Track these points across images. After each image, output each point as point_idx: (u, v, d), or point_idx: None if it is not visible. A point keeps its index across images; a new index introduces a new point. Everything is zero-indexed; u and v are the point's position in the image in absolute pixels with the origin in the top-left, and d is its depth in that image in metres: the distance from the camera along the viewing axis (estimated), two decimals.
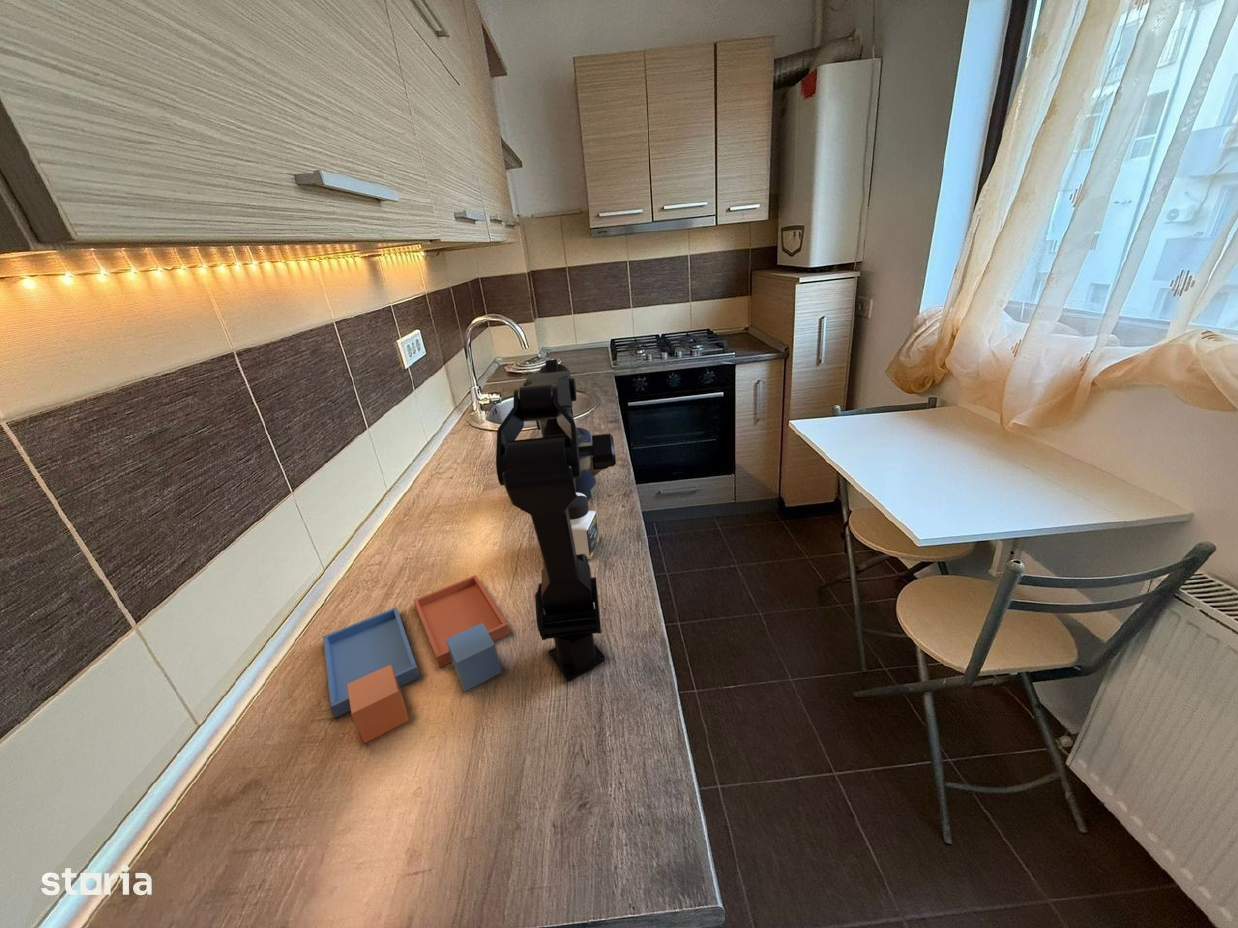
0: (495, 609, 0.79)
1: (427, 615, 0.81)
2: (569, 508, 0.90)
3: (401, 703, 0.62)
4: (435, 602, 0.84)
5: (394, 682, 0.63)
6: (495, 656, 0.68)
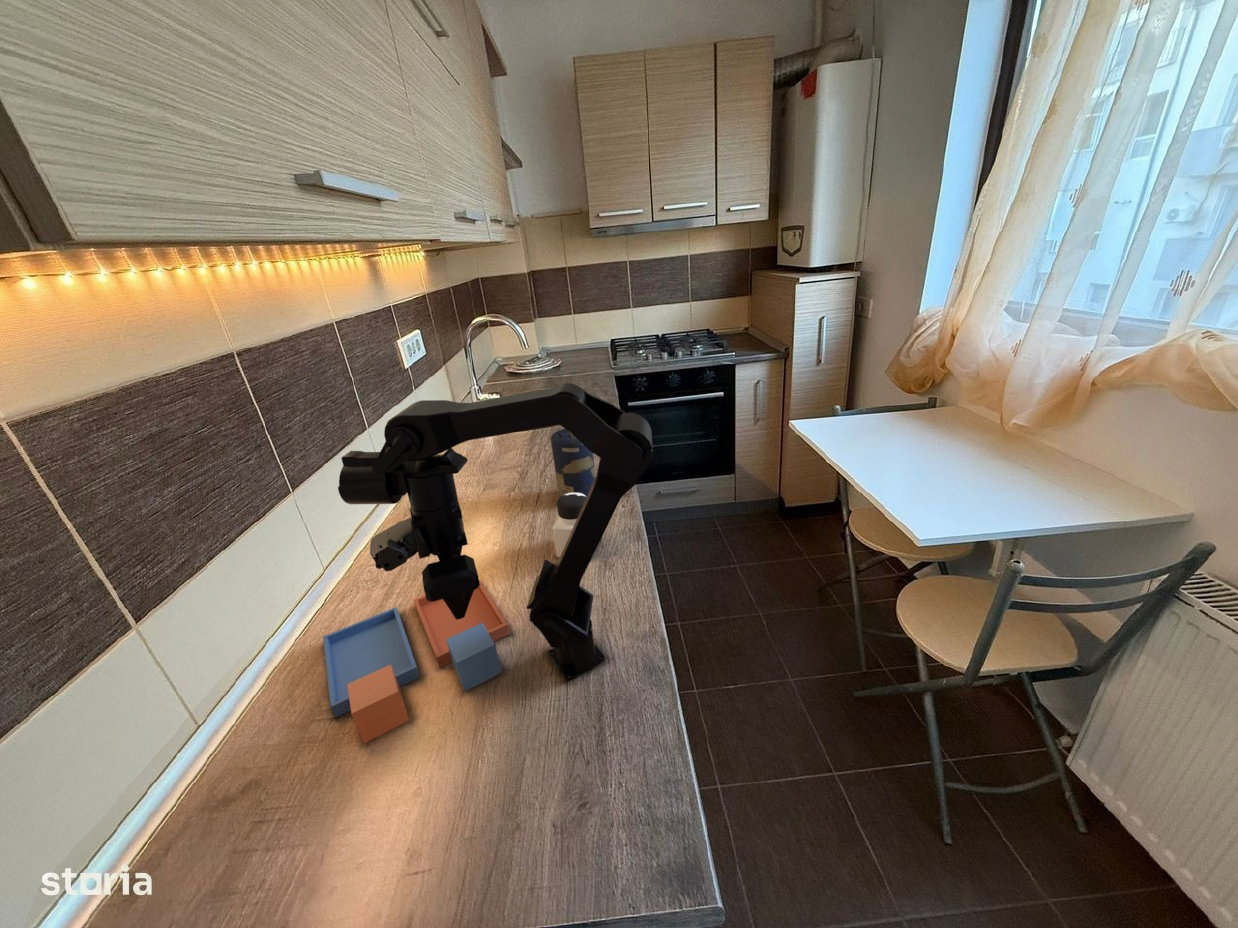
0: (495, 609, 0.79)
1: (427, 615, 0.81)
2: (569, 508, 0.90)
3: (401, 703, 0.62)
4: (435, 602, 0.84)
5: (394, 682, 0.63)
6: (495, 656, 0.68)
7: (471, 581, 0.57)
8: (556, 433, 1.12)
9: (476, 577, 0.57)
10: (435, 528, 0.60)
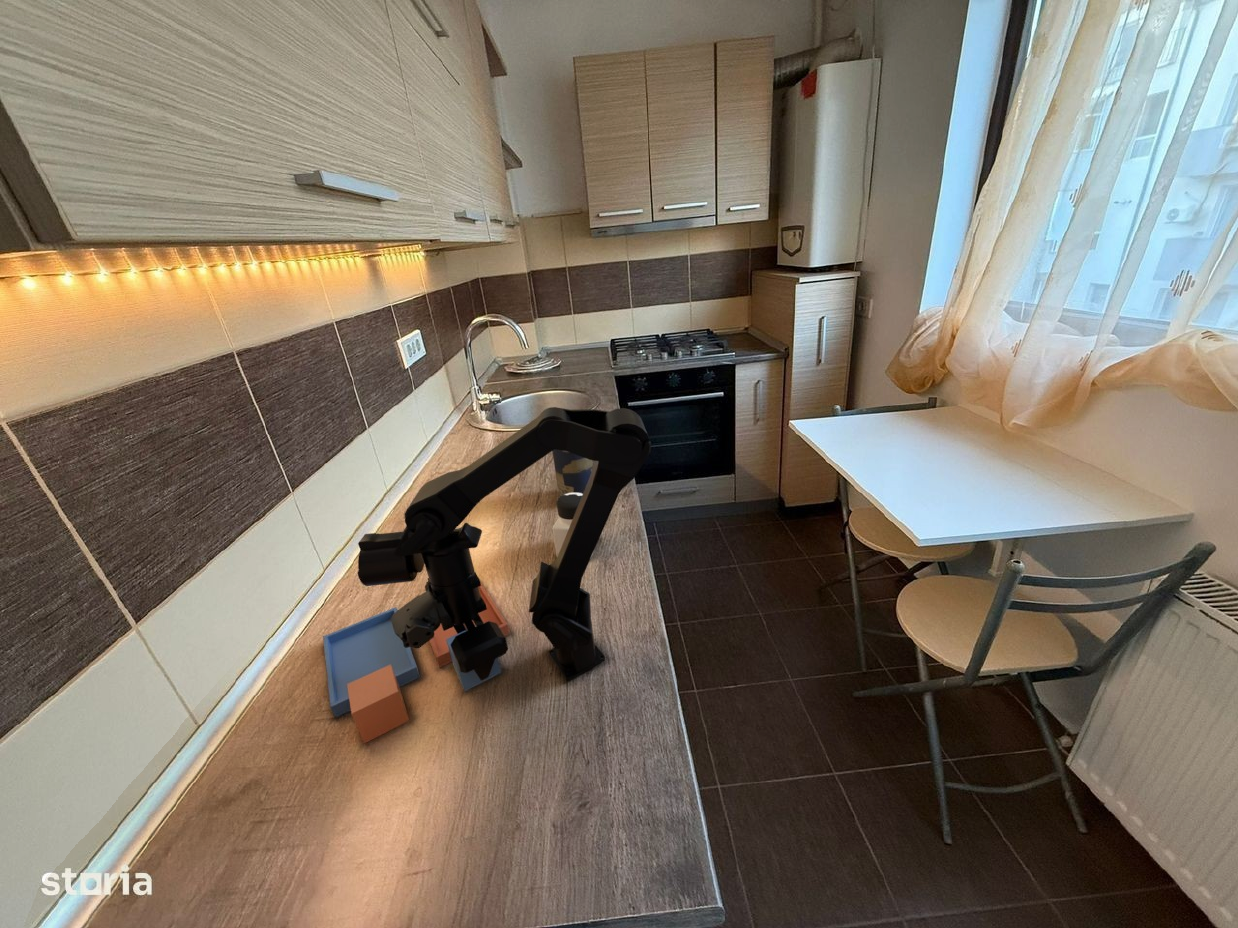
0: (495, 609, 0.79)
1: None
2: (569, 508, 0.90)
3: (401, 703, 0.62)
4: None
5: (394, 682, 0.63)
6: None
7: (501, 647, 0.60)
8: None
9: (505, 642, 0.61)
10: (457, 600, 0.62)
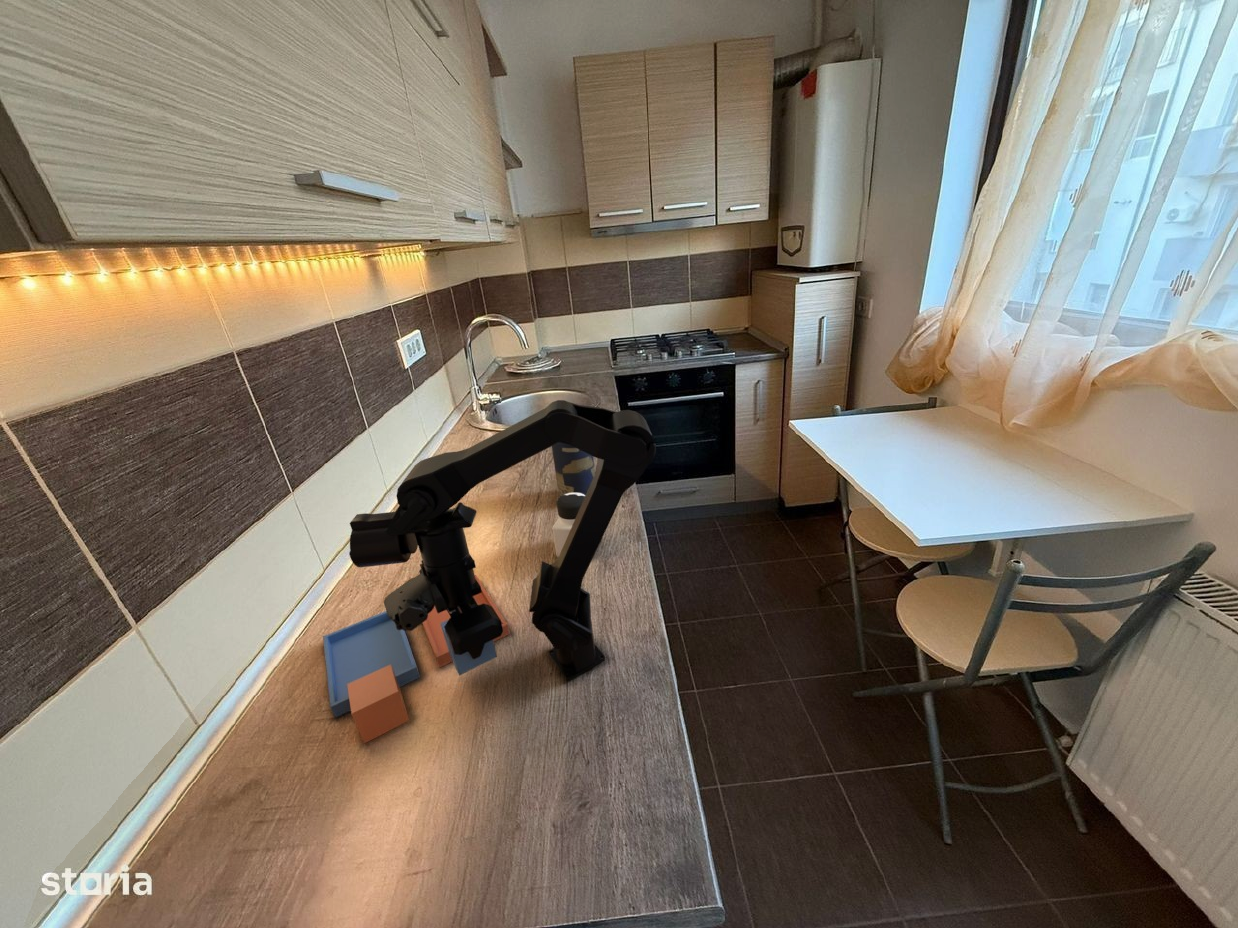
0: (495, 609, 0.79)
1: None
2: (569, 508, 0.90)
3: (401, 703, 0.62)
4: None
5: (394, 682, 0.63)
6: None
7: (496, 629, 0.59)
8: None
9: (500, 624, 0.59)
10: (451, 582, 0.61)
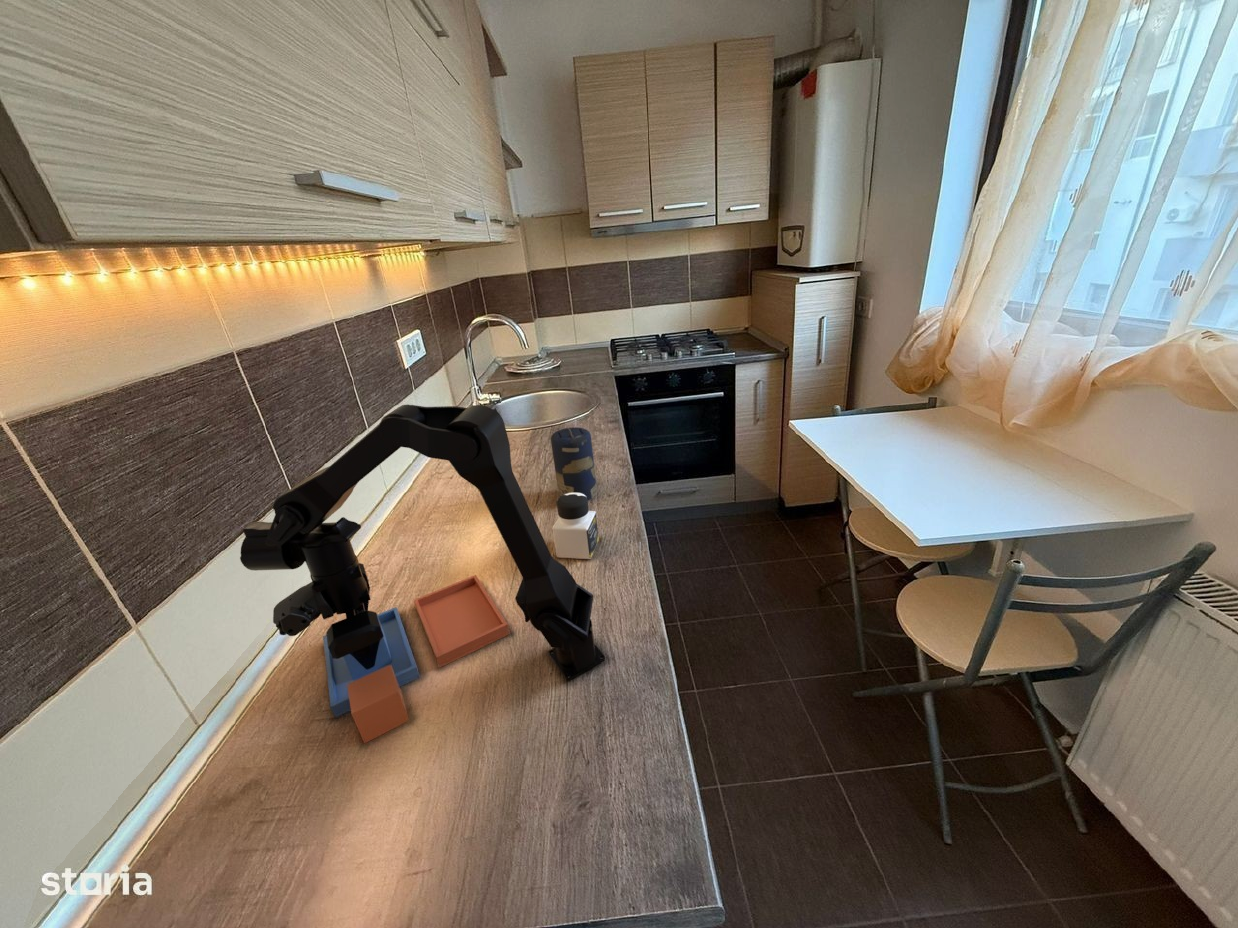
0: (495, 609, 0.79)
1: (427, 615, 0.81)
2: (569, 508, 0.90)
3: (401, 703, 0.62)
4: (435, 602, 0.84)
5: (394, 682, 0.63)
6: (384, 645, 0.71)
7: (374, 634, 0.63)
8: (556, 433, 1.12)
9: (379, 630, 0.63)
10: (336, 590, 0.65)
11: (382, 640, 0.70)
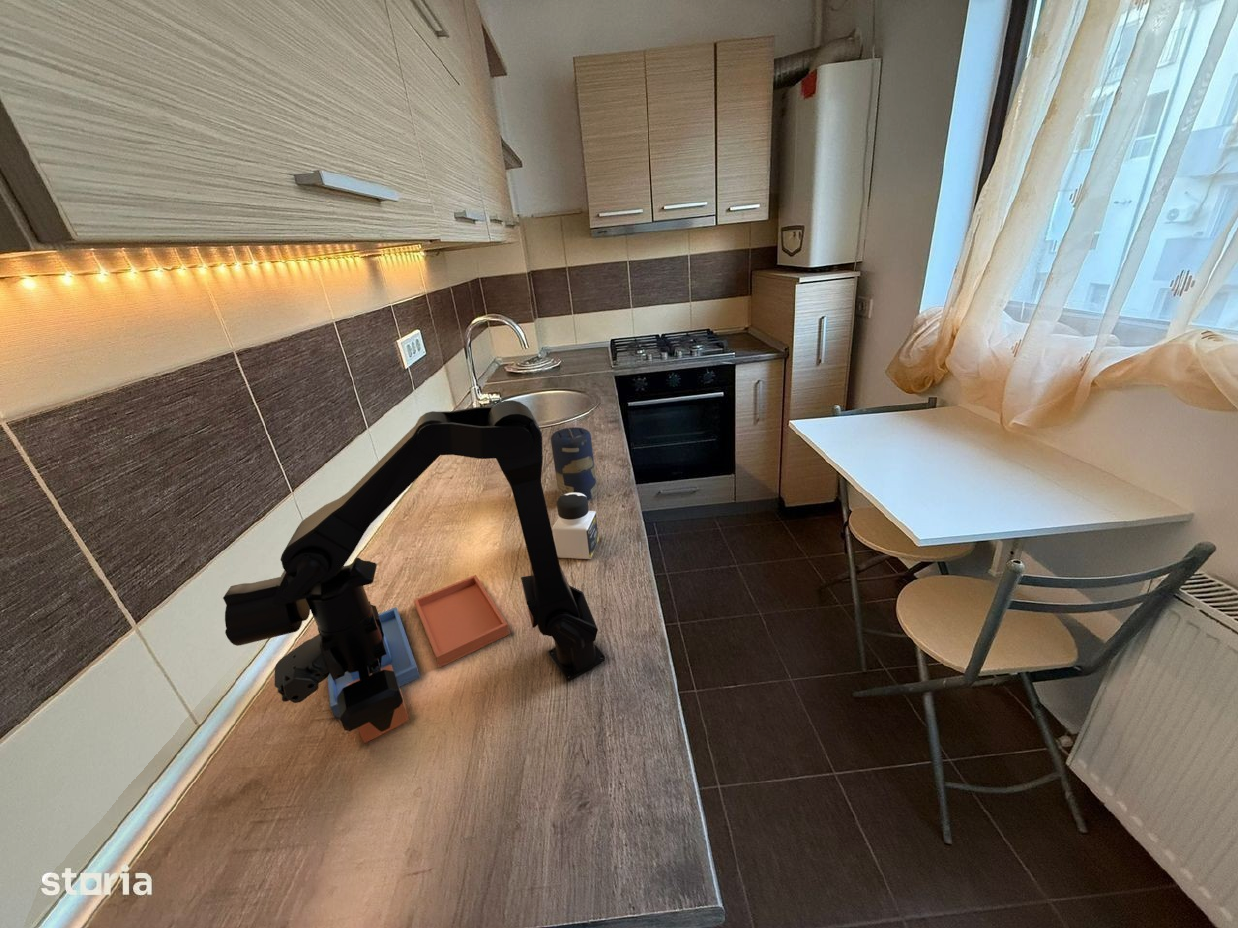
0: (495, 609, 0.79)
1: (427, 615, 0.81)
2: (569, 508, 0.90)
3: None
4: (435, 602, 0.84)
5: None
6: (384, 645, 0.71)
7: (392, 700, 0.54)
8: (556, 433, 1.12)
9: (398, 695, 0.55)
10: (348, 646, 0.56)
11: None
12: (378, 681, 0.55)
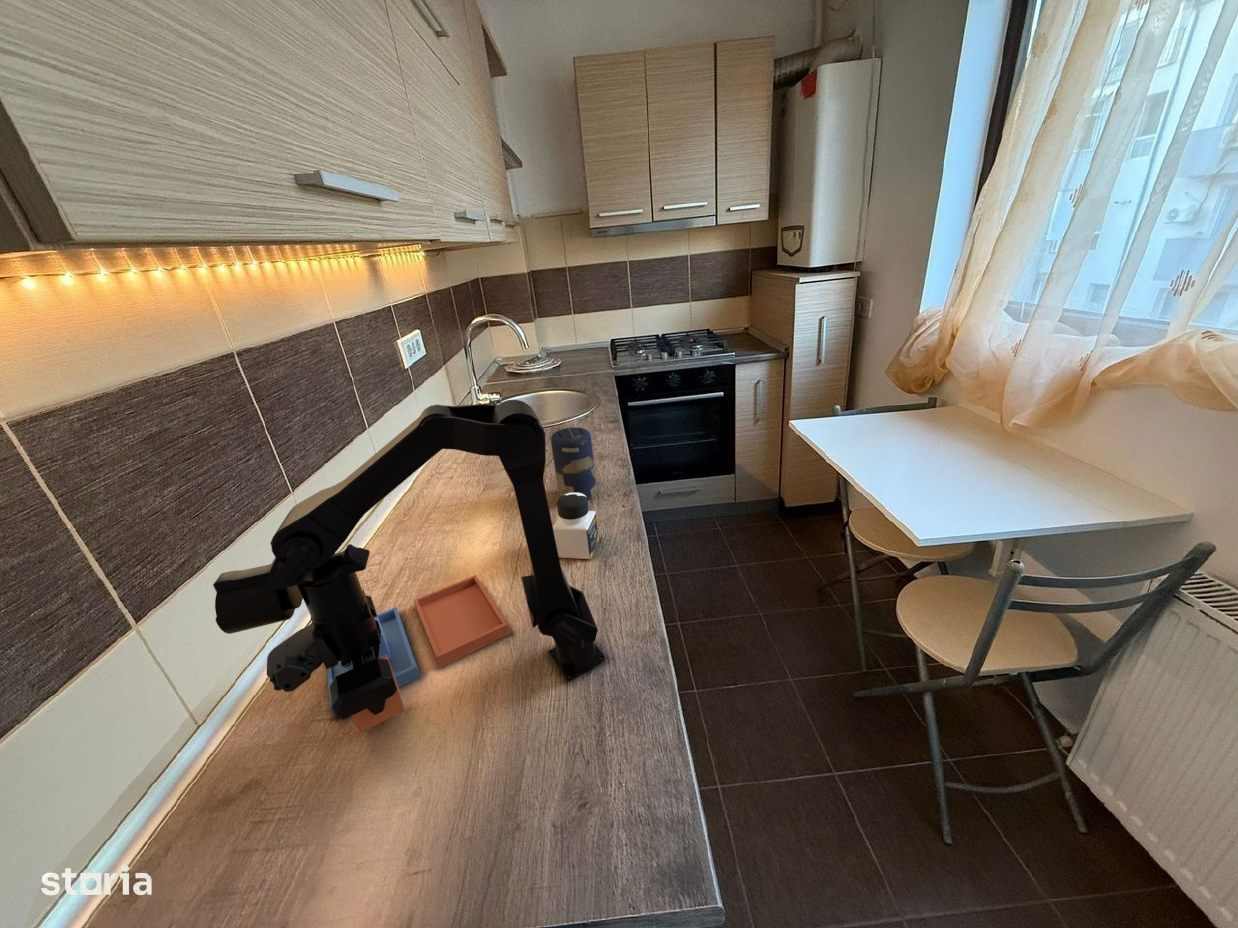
0: (495, 609, 0.79)
1: (427, 615, 0.81)
2: (569, 508, 0.90)
3: (396, 691, 0.61)
4: (435, 602, 0.84)
5: None
6: (384, 645, 0.71)
7: (386, 688, 0.53)
8: (556, 433, 1.12)
9: (392, 683, 0.54)
10: (341, 635, 0.55)
11: (382, 640, 0.70)
12: (371, 669, 0.54)
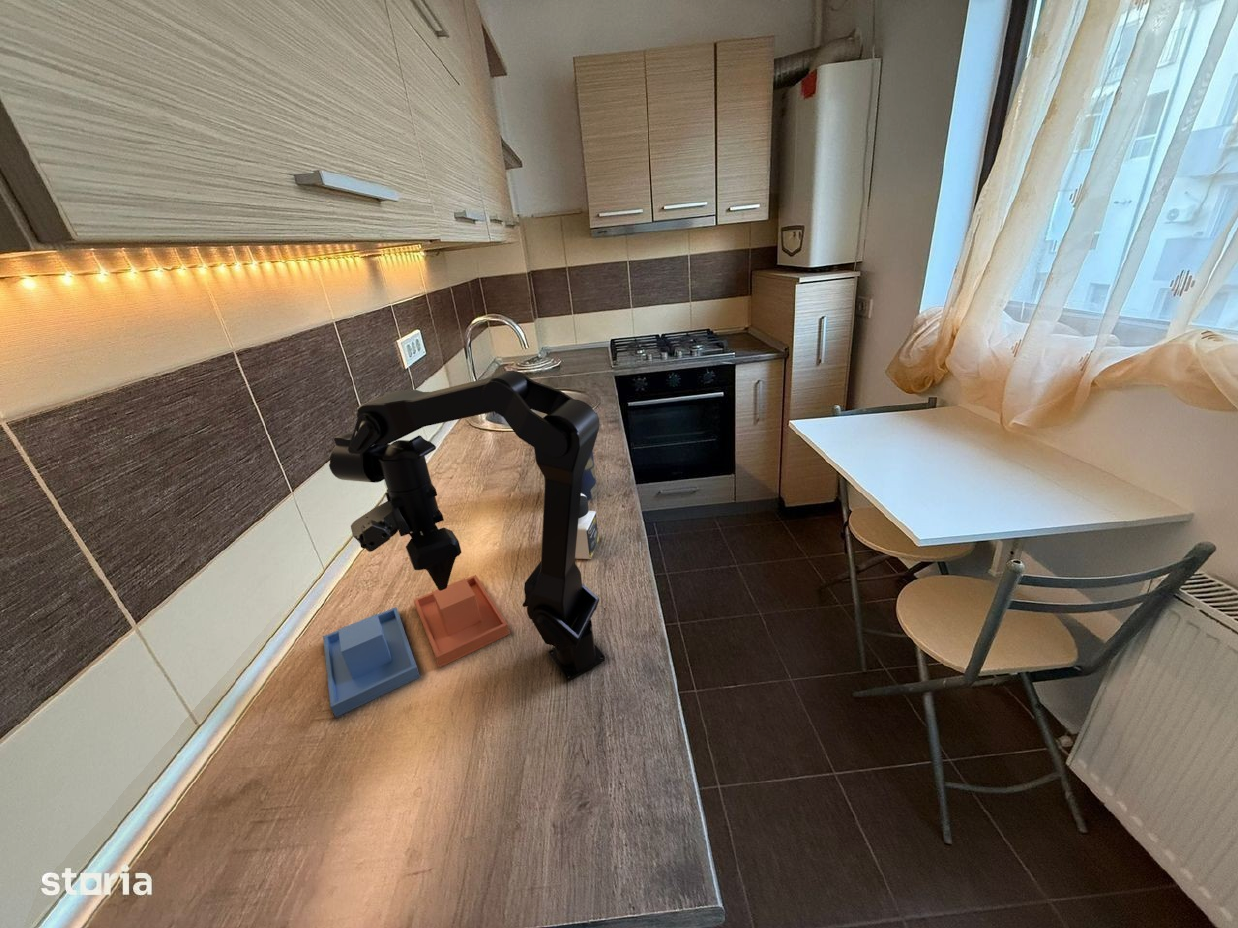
0: (495, 609, 0.79)
1: (427, 615, 0.81)
2: None
3: (476, 605, 0.78)
4: (435, 602, 0.84)
5: (470, 589, 0.78)
6: (384, 645, 0.71)
7: (453, 548, 0.63)
8: None
9: (458, 544, 0.64)
10: (414, 507, 0.65)
11: (382, 640, 0.70)
12: (440, 534, 0.64)
